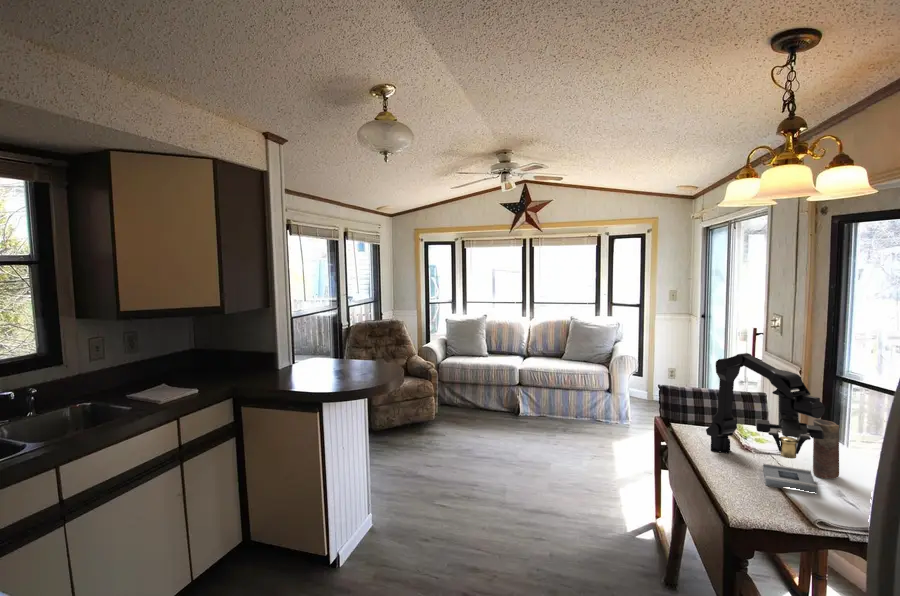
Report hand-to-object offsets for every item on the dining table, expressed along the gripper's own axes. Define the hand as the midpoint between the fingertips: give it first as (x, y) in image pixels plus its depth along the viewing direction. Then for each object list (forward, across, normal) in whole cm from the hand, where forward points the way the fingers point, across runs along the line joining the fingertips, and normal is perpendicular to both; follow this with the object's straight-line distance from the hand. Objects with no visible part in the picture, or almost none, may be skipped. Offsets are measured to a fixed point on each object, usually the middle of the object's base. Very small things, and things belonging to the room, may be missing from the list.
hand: (788, 452), depth 159 cm
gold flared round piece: (+1, 0, 0) cm, 1 cm away
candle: (+11, +12, +11) cm, 20 cm away
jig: (+11, 0, 0) cm, 11 cm away
